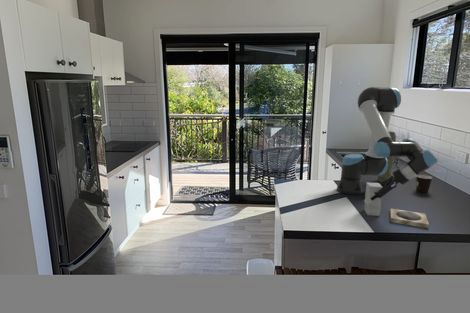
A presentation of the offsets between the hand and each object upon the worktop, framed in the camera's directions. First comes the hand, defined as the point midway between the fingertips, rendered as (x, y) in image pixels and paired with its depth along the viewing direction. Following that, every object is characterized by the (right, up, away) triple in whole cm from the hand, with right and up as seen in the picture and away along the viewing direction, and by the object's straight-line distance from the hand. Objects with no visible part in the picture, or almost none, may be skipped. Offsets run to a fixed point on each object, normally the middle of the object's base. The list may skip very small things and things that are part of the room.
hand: (366, 199), depth 165 cm
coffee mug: (+51, 0, +37) cm, 63 cm away
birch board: (+18, -9, -8) cm, 21 cm away
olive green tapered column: (+37, +5, +57) cm, 68 cm away
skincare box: (+3, -7, 0) cm, 8 cm away
